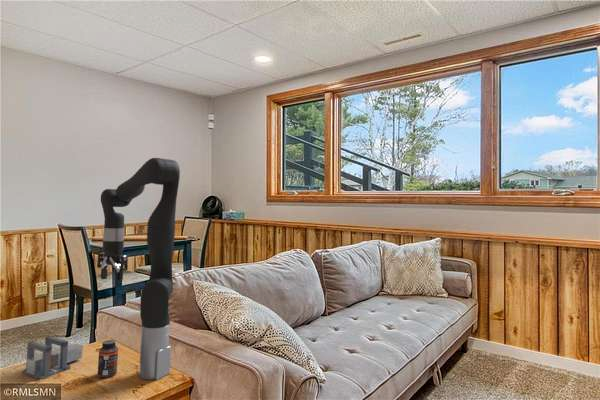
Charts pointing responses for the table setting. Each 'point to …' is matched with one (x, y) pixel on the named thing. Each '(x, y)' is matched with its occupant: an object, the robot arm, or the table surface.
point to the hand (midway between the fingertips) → (111, 280)
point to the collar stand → (48, 357)
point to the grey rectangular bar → (54, 359)
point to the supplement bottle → (108, 359)
